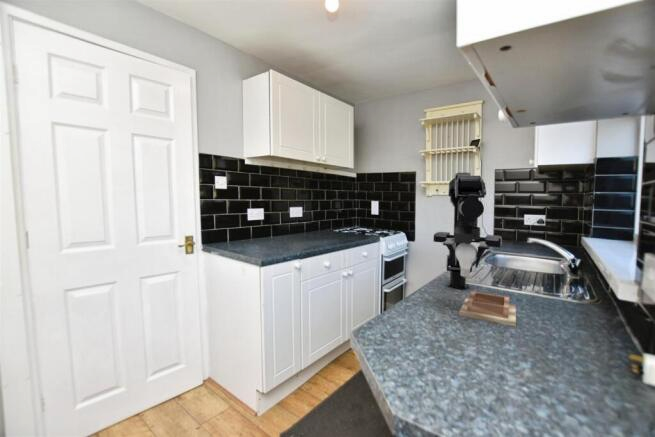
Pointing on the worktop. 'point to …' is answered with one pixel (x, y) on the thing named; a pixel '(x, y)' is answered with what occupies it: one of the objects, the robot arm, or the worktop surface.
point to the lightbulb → (465, 257)
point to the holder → (489, 308)
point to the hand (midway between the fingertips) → (465, 266)
